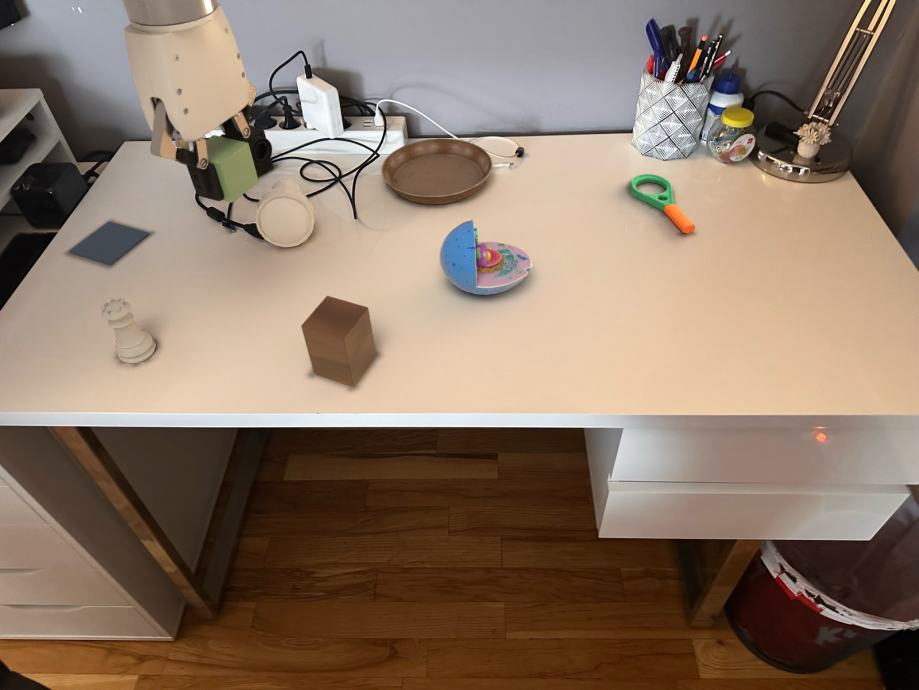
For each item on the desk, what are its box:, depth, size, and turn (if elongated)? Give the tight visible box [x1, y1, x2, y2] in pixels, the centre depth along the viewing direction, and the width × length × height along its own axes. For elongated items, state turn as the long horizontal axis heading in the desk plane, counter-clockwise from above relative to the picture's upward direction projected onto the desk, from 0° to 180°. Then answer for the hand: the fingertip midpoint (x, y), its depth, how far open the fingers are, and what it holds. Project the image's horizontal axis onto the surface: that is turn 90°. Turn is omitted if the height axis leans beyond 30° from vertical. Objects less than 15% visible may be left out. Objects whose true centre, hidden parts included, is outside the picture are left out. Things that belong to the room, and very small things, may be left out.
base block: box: [300, 295, 377, 388], centre depth 78 cm, size 6×6×8 cm
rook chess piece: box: [100, 296, 157, 365], centre depth 80 cm, size 4×4×8 cm
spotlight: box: [254, 179, 315, 248], centre depth 99 cm, size 8×11×8 cm
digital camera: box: [246, 123, 274, 178], centre depth 108 cm, size 10×5×7 cm, turn 146°
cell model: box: [439, 219, 533, 296], centre depth 87 cm, size 10×12×10 cm
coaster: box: [68, 221, 151, 266], centre depth 99 cm, size 8×8×1 cm
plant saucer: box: [380, 137, 493, 205], centre depth 108 cm, size 18×18×3 cm
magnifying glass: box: [630, 173, 696, 234], centre depth 101 cm, size 15×6×2 cm, turn 15°
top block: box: [190, 134, 259, 204], centre depth 69 cm, size 4×4×4 cm
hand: (227, 182), depth 71 cm, fingers closed on top block, 4 cm apart
